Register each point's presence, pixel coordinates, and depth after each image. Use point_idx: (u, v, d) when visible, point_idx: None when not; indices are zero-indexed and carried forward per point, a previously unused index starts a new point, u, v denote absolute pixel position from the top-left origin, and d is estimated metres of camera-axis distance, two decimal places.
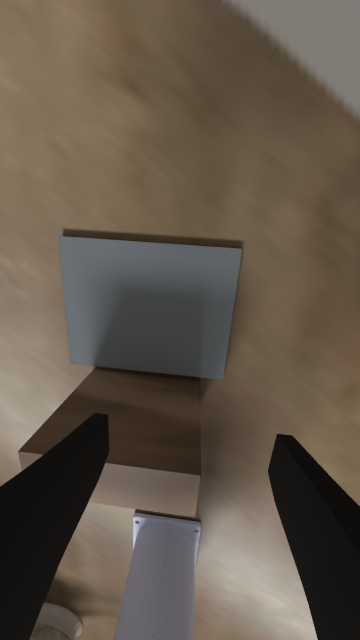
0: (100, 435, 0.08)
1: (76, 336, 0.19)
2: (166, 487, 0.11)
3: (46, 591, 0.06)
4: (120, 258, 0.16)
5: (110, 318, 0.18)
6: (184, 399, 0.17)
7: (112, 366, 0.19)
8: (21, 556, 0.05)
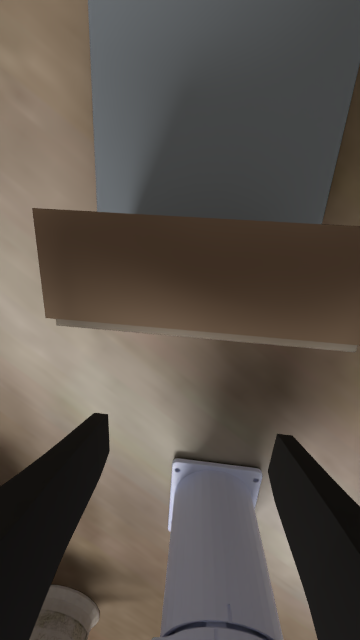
0: (99, 435, 0.08)
1: (107, 177, 0.13)
2: (327, 272, 0.06)
3: (46, 592, 0.06)
4: (181, 25, 0.11)
5: (159, 140, 0.12)
6: None
7: None
8: (21, 556, 0.05)
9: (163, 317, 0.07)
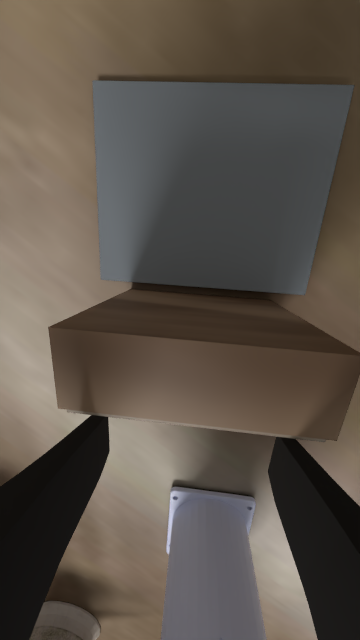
0: (99, 435, 0.08)
1: (110, 239, 0.14)
2: (297, 384, 0.07)
3: (46, 591, 0.06)
4: (177, 111, 0.12)
5: (158, 208, 0.13)
6: (265, 308, 0.12)
7: (156, 281, 0.15)
8: (21, 556, 0.05)
9: (159, 412, 0.08)
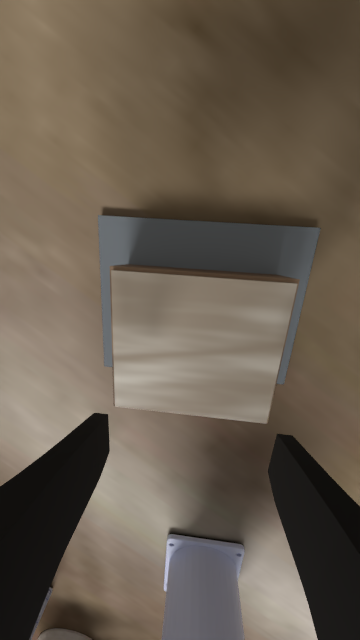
0: (100, 435, 0.08)
1: None
2: (255, 274, 0.13)
3: (46, 592, 0.06)
4: (171, 241, 0.14)
5: None
6: None
7: None
8: (21, 556, 0.05)
9: (180, 270, 0.12)
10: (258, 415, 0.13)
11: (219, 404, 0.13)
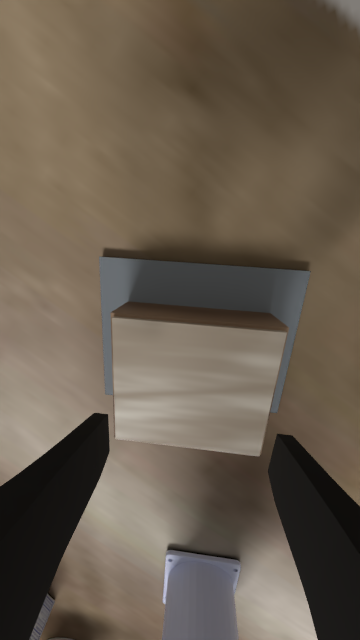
0: (99, 435, 0.08)
1: None
2: (248, 315, 0.14)
3: (46, 591, 0.06)
4: (168, 281, 0.15)
5: None
6: None
7: None
8: (21, 556, 0.05)
9: (177, 316, 0.12)
10: (251, 449, 0.14)
11: (214, 438, 0.14)
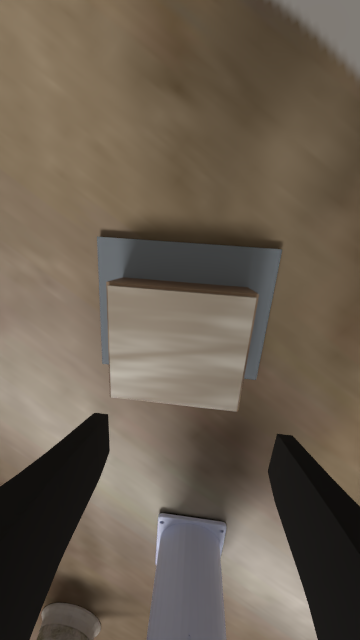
0: (100, 435, 0.08)
1: None
2: (227, 287, 0.16)
3: (46, 591, 0.06)
4: (158, 258, 0.17)
5: None
6: None
7: None
8: (21, 556, 0.05)
9: (164, 285, 0.14)
10: (229, 404, 0.16)
11: (197, 395, 0.16)
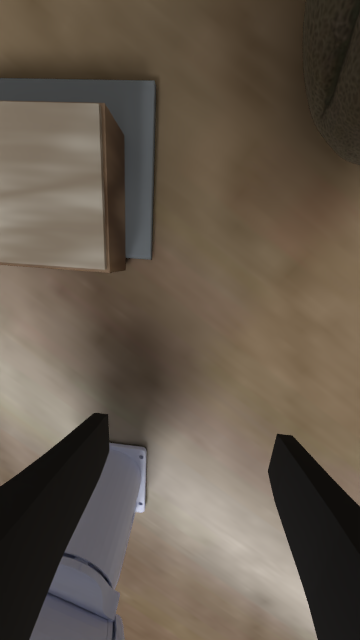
0: (99, 435, 0.08)
1: None
2: None
3: (46, 591, 0.06)
4: None
5: None
6: None
7: None
8: (21, 556, 0.05)
9: None
10: (95, 260, 0.14)
11: (58, 250, 0.14)
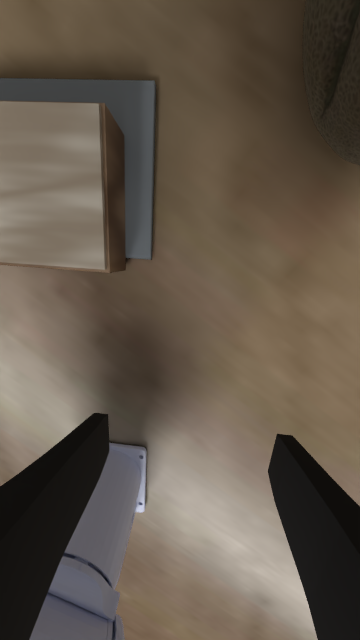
0: (99, 435, 0.08)
1: None
2: None
3: (46, 591, 0.06)
4: None
5: None
6: None
7: None
8: (21, 556, 0.05)
9: None
10: (95, 260, 0.14)
11: (58, 250, 0.14)
